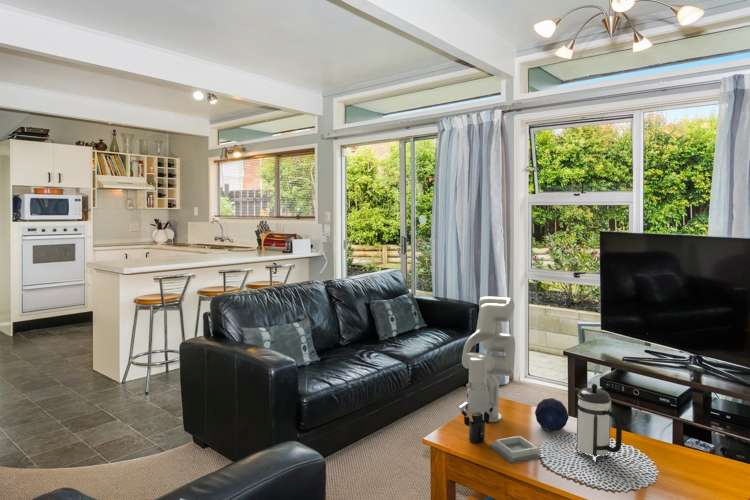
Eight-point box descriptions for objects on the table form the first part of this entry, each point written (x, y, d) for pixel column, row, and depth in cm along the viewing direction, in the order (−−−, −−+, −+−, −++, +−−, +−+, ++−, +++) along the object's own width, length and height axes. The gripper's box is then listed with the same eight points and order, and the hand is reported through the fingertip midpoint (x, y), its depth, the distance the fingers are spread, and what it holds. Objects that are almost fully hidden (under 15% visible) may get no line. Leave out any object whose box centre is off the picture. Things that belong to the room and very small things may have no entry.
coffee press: (573, 460, 202) (575, 388, 201) (573, 444, 217) (574, 376, 215) (620, 468, 196) (623, 393, 194) (617, 451, 211) (619, 381, 209)
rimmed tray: (489, 446, 215) (489, 438, 215) (520, 441, 220) (521, 433, 220) (511, 463, 200) (511, 455, 200) (544, 457, 205) (544, 449, 205)
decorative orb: (580, 421, 229) (563, 390, 235) (560, 429, 220) (543, 397, 227) (558, 431, 238) (543, 401, 245) (538, 439, 230) (523, 408, 237)
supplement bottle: (484, 444, 217) (485, 417, 216) (468, 443, 219) (469, 416, 218) (484, 438, 224) (484, 411, 223) (469, 436, 225) (469, 410, 225)
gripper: (464, 389, 213) (463, 429, 214) (499, 386, 219) (498, 424, 219) (455, 384, 220) (455, 423, 221) (489, 381, 226) (489, 418, 226)
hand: (476, 423), depth 220 cm, fingers open, 9 cm apart
